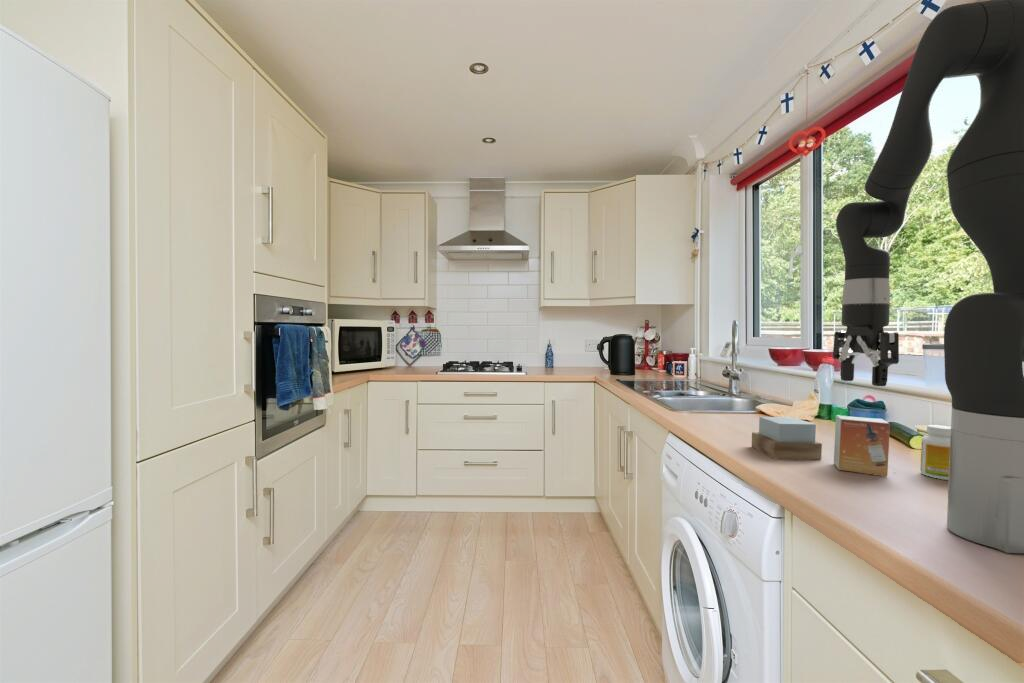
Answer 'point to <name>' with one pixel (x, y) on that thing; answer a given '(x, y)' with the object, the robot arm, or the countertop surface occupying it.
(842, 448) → the small box
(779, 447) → the walnut base block
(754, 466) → the countertop surface
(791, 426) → the slate top block
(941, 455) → the supplement bottle
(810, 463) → the countertop surface
